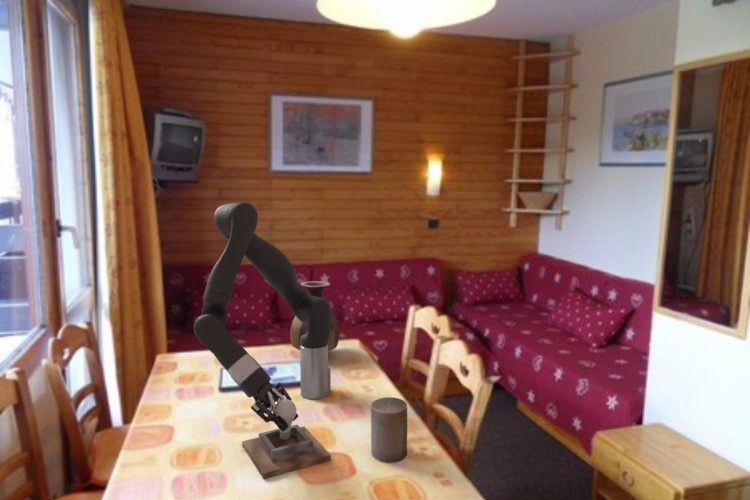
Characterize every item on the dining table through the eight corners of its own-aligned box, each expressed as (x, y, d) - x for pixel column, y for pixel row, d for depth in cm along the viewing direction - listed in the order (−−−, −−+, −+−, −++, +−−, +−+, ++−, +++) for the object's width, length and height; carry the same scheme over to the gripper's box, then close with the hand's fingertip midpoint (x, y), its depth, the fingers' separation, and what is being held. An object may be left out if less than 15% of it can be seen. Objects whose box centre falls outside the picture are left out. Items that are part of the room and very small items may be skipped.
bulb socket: (304, 431, 156) (304, 416, 156) (330, 460, 141) (330, 444, 140) (242, 446, 148) (242, 430, 147) (263, 479, 132) (263, 461, 132)
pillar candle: (411, 447, 148) (411, 395, 146) (401, 465, 139) (401, 409, 137) (377, 442, 151) (377, 390, 149) (365, 459, 142) (365, 404, 140)
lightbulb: (291, 446, 140) (291, 405, 139) (269, 443, 141) (269, 403, 140) (299, 435, 146) (299, 396, 145) (278, 433, 147) (278, 394, 146)
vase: (315, 369, 204) (315, 291, 200) (277, 359, 215) (276, 285, 210) (351, 353, 223) (351, 281, 219) (314, 344, 234) (314, 276, 230)
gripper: (244, 376, 136) (289, 428, 135) (270, 357, 150) (311, 404, 148) (226, 394, 138) (269, 445, 137) (253, 374, 152) (293, 420, 151)
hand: (291, 423), depth 143 cm, fingers closed on lightbulb, 5 cm apart
